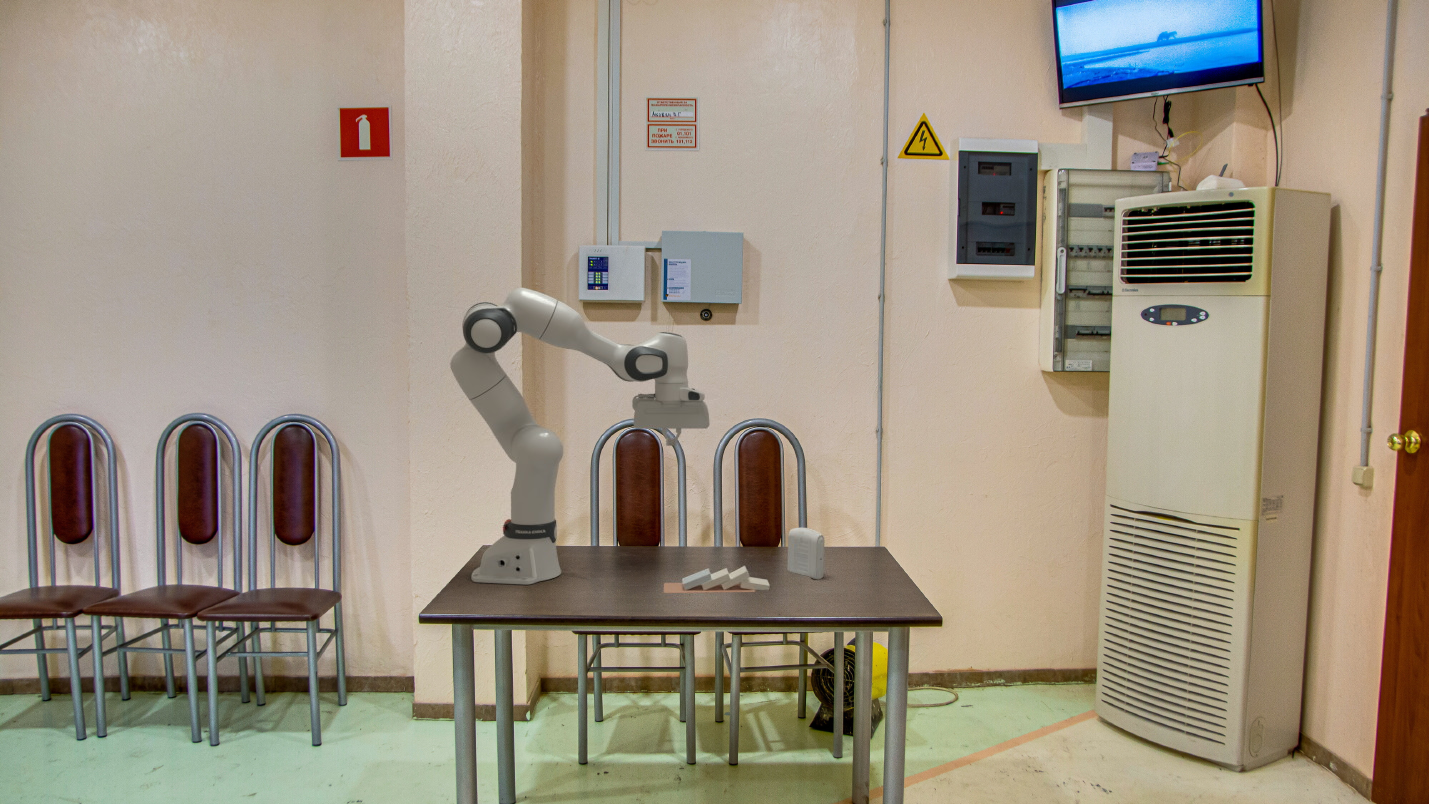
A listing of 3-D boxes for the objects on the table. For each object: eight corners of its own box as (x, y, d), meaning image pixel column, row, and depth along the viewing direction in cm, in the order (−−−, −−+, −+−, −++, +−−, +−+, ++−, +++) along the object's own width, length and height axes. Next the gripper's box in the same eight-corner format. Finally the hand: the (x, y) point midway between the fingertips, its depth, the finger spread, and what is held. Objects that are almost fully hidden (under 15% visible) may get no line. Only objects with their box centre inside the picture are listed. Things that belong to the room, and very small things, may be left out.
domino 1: (682, 584, 189) (709, 573, 189) (682, 578, 194) (708, 568, 194) (685, 590, 189) (712, 579, 190) (684, 584, 194) (710, 574, 194)
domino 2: (701, 584, 189) (728, 573, 189) (700, 578, 194) (726, 567, 194) (703, 590, 189) (730, 579, 190) (702, 584, 194) (729, 573, 194)
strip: (663, 595, 187) (663, 592, 187) (663, 585, 195) (664, 583, 195) (755, 594, 189) (755, 591, 189) (751, 584, 197) (751, 582, 196)
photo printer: (826, 577, 203) (827, 530, 203) (816, 580, 200) (817, 532, 200) (794, 569, 210) (795, 524, 210) (784, 572, 207) (785, 526, 207)
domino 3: (721, 584, 189) (746, 571, 190) (719, 578, 194) (744, 565, 195) (724, 590, 190) (749, 577, 190) (722, 584, 195) (747, 571, 195)
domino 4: (741, 581, 190) (769, 585, 190) (739, 575, 195) (767, 579, 195) (740, 587, 190) (768, 592, 190) (738, 581, 195) (766, 586, 195)
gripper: (631, 394, 205) (631, 447, 206) (709, 394, 206) (709, 446, 206) (633, 393, 211) (633, 444, 212) (709, 393, 212) (708, 443, 213)
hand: (671, 445), depth 209 cm, fingers closed
